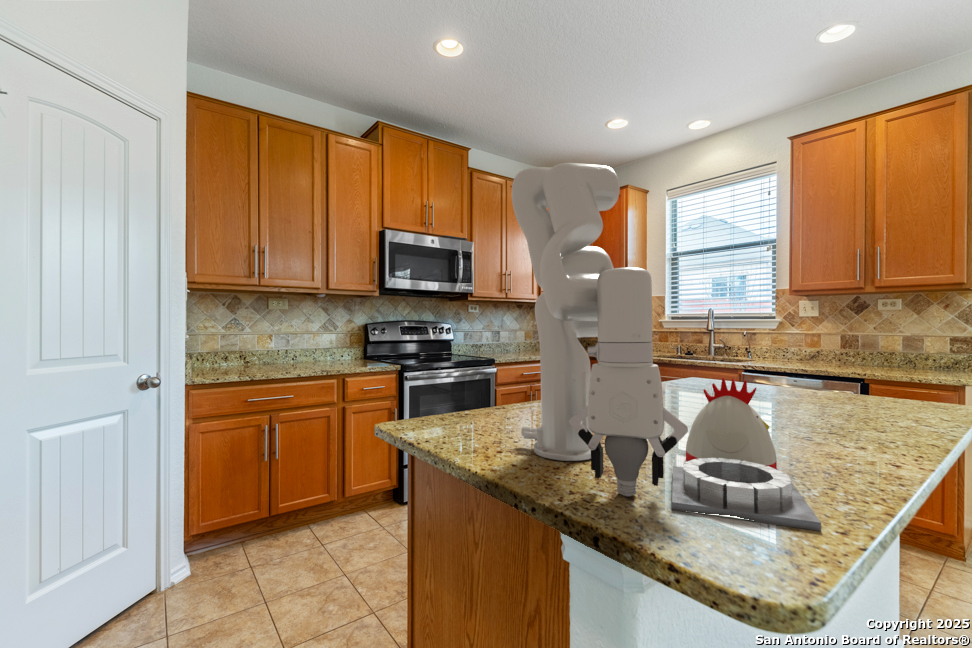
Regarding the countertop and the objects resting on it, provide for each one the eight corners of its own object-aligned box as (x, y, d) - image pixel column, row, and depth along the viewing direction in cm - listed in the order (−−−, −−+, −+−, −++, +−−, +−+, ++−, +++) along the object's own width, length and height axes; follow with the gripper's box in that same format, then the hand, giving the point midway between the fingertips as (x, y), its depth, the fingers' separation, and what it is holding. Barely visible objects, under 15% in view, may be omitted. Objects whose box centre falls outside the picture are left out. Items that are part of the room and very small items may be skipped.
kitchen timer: (776, 482, 67) (774, 384, 67) (679, 467, 75) (678, 379, 75) (776, 459, 79) (775, 376, 79) (693, 448, 86) (691, 372, 86)
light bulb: (656, 494, 62) (655, 424, 63) (636, 507, 58) (635, 432, 58) (618, 484, 67) (617, 418, 67) (597, 495, 63) (596, 425, 63)
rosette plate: (672, 509, 57) (671, 483, 57) (673, 472, 72) (672, 451, 72) (821, 531, 51) (820, 501, 51) (789, 485, 66) (788, 461, 66)
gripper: (558, 355, 63) (560, 479, 63) (692, 357, 56) (694, 497, 56) (570, 352, 70) (572, 464, 69) (691, 354, 63) (693, 478, 62)
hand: (626, 478), depth 63 cm, fingers open, 7 cm apart
